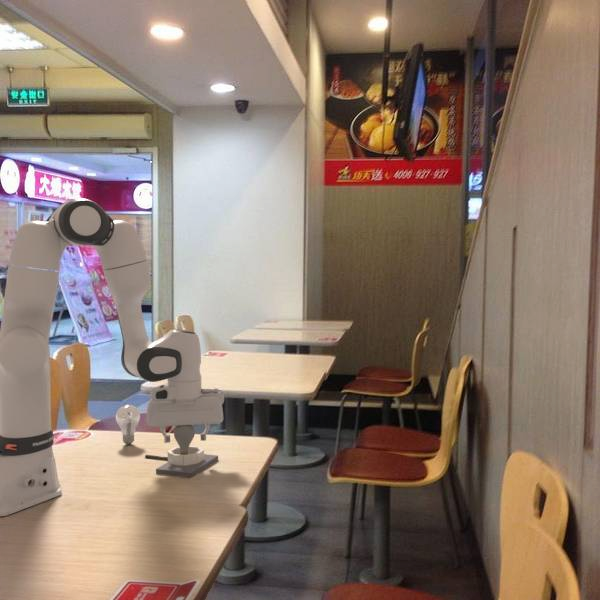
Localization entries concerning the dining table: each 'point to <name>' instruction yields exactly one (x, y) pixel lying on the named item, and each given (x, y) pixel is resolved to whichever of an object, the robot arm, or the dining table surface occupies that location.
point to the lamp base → (184, 462)
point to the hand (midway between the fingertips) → (185, 441)
